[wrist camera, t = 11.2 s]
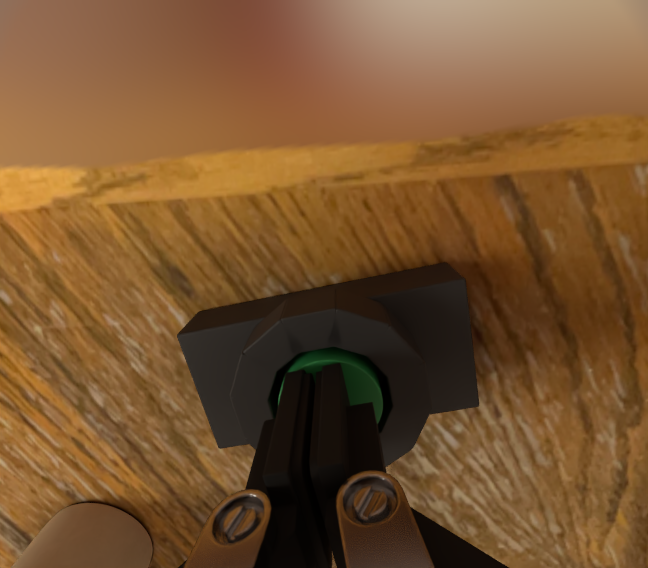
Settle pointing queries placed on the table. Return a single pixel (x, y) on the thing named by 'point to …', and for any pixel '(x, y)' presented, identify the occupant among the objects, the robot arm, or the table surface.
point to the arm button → (355, 370)
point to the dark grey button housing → (346, 333)
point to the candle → (89, 540)
